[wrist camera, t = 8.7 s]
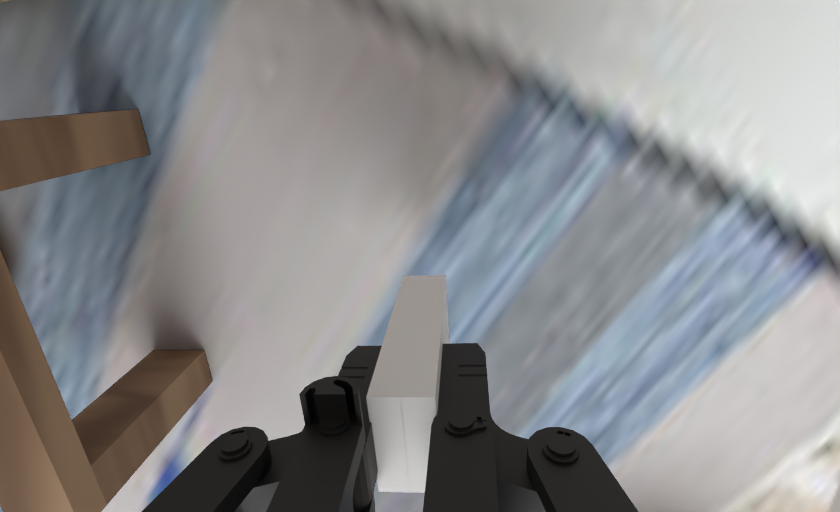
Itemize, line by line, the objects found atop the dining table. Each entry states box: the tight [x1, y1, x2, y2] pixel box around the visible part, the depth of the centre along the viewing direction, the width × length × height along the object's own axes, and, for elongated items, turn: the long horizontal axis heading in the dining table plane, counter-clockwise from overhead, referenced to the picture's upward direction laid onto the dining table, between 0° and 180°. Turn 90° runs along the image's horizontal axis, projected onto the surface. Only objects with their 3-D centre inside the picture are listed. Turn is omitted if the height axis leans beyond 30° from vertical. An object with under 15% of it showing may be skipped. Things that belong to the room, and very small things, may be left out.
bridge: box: [0, 109, 212, 512], centre depth 19 cm, size 3×14×9 cm, turn 4°
